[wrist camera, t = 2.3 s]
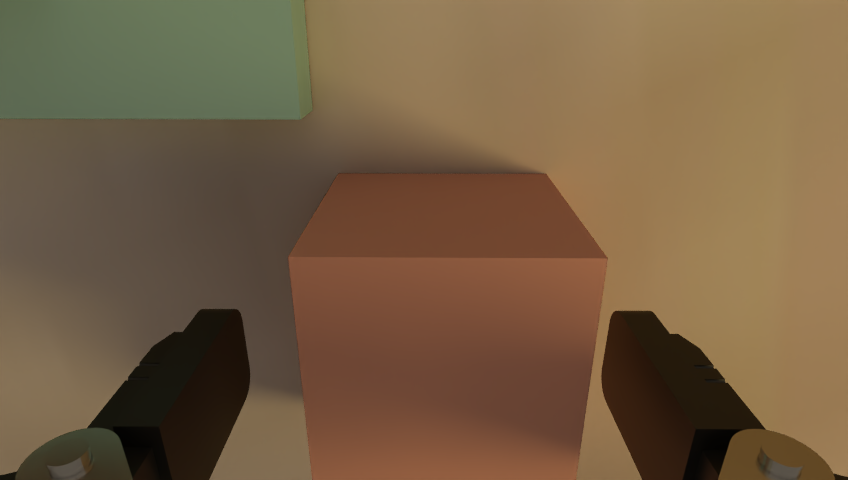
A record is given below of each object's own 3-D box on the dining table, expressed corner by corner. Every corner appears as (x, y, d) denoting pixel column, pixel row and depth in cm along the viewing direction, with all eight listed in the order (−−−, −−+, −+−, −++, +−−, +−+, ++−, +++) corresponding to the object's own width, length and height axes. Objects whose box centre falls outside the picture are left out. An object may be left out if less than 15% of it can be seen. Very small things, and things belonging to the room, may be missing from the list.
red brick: (545, 172, 13) (607, 258, 8) (524, 404, 16) (563, 567, 11) (339, 172, 13) (287, 256, 8) (354, 403, 16) (321, 564, 11)
